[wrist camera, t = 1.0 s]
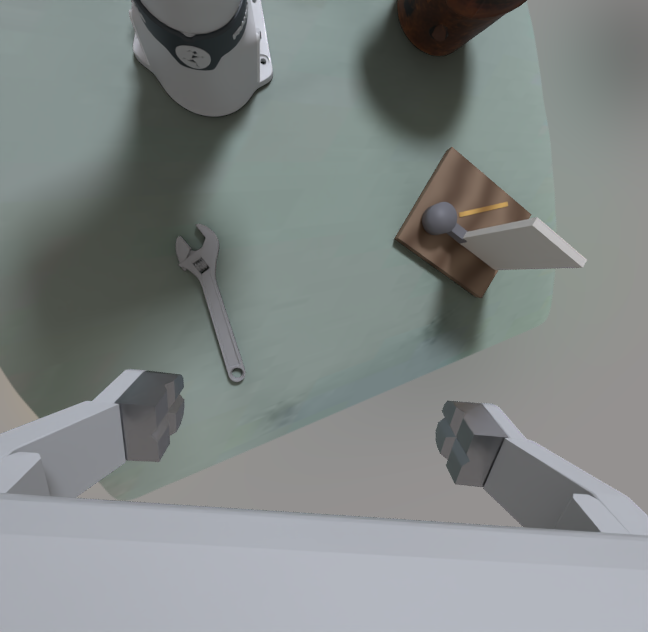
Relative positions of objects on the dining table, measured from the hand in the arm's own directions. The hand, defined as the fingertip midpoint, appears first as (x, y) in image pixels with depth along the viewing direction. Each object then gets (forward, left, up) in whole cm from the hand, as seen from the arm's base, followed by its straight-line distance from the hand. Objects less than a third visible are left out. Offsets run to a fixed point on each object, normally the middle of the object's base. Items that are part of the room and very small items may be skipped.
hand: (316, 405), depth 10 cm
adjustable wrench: (+1, -8, -44) cm, 45 cm away
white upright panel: (-11, +34, -41) cm, 55 cm away
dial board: (-14, +35, -43) cm, 57 cm away
